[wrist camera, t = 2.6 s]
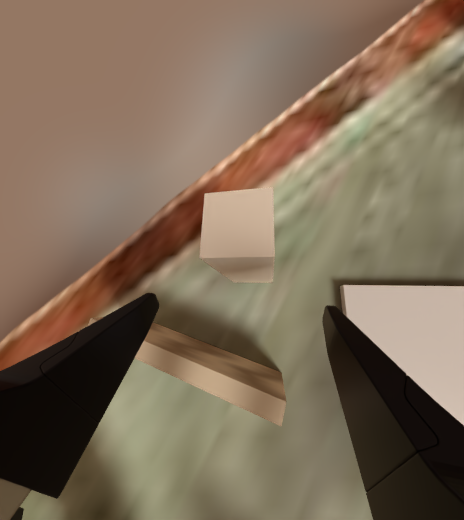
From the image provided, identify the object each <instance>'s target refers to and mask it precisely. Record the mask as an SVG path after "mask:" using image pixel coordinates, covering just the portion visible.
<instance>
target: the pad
mask: <svg viewBox="0 0 464 520" xmlns="http://www.w3.org/2000/svg"><path fill="white" fill-rule="evenodd" d="M340 293H341V302H342V312H343V314H344V315H345V316H347V317H348V318H349V319H350V320H351V321H352V322H353V323H354V324H355V325H356V326H357V327H358V328H359V329H360V330H361V331H362V332H363V333H364V334H365V335H366V336H367V337H369V338H370V339H371V340H372V341H373V342H374V343H375V344H376V345H377V346H378V347H379V348H380V349H381V350H382V351H383V352H384V353H385V354H386V355H387V356H388V357H389V358H391V359H392V360H393V361H394V362H395V363H396V364H397V365H398V366H399V367H400V368H401V369H402V370H403V371H404V372H405V373H406V376H407V375H408V376H409V377H411V378H412V379H413V380H414V381H415V382H416V383H417V384H418V385H419V386H420V387H421V388H422V389H423V390H424V391H425V392H426V393H428V394H429V395H430V396H431V397H432V398H433V399H434V400H435V401H436V402H437V403H439V404H440V405H441V406H442V407H443V408H444V409H445V410H447V411H448V412H449V413H450V414H451V415H452V416H453V417H455V418H456V419H457V420H458V421H459V422H460V423H462V424H463V425H464V286H387V285H342V286H340Z"/></svg>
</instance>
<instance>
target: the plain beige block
mask: <svg viewBox="0 0 464 520" xmlns="http://www.w3.org/2000/svg"><path fill="white" fill-rule="evenodd" d="M199 258H200V259H201V260H203V261H204V262H206V263H207V264H209V265H210V266H211V267H213V268H214V269H216V270H217V271H218V272H220V273H221V274H223V275H224V276H226V277H227V278H228V279H230V280H231V281H233V282H247V283H273V271H274V258H275V251H274V207H273V187H269V188H258V189H247V190H237V191H226V192H215V193H205V195H204V207H203V219H202V231H201V244H200V256H199Z"/></svg>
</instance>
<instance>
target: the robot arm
mask: <svg viewBox="0 0 464 520" xmlns="http://www.w3.org/2000/svg"><path fill="white" fill-rule="evenodd" d="M158 309H159V303H158V300H157V297H156V295H155V294H154V293H146V294H145V295H143V296H141V297H139V298H137V299H136V300H134V301H132V302H130V303H128V304H127V305H125V306H123V307H121V308H119V309H118V310H116V311H114V312H112V313H111V314H109V315H107V316H105V317H103V318H102V319H100V320H98V321H96V322H94V323H93V324H91V325H89V326H87V327H85V328H84V329H82V330H80V331H79V332H76V333H75V334H73V335H71V336H69V337H67V338H66V339H64V340H62V341H60V342H58V343H56V344H54V345H52V346H50V347H48V348H47V349H45V350H43V351H41V352H39V353H37V354H35V355H33V356H31V357H29V358H27V359H25V360H23V361H21V362H19V363H17V364H15V365H13V366H11V367H9V368H6V369H4V370H2V371H0V520H22V515H23V511H24V509H23V508H21V507H20V505H21V504H22V503H23V501H24V500H25V498H26V497H27V496H28V494H29V493H30V491H31V490H34V491H37V492H39V493H42V494H45V495H48V496H51V497H54V498H56V499H57V498H58V497H59V496H60V494H61V492H62V491H63V489H64V487H65V485H66V483H67V482H68V480H69V478H70V476H71V474H72V472H73V471H74V469H75V467H76V465H77V463H78V461H79V459H80V458H81V456H82V454H83V452H84V450H85V448H86V447H87V445H88V443H89V441H90V439H91V437H92V435H93V434H94V432H95V430H96V428H97V426H98V424H99V422H100V421H101V419H102V417H103V415H104V413H105V411H106V409H107V408H108V406H109V404H110V402H111V400H112V398H113V397H114V395H115V393H116V391H117V389H118V387H119V386H120V384H121V382H122V380H123V378H124V376H125V374H126V373H127V371H128V369H129V367H130V365H131V363H132V362H133V360H134V358H135V356H136V354H137V352H138V351H139V349H140V347H141V345H142V343H143V341H144V340H145V338H146V336H147V334H148V332H149V330H150V327H151V325H152V323H153V320H154V318H155V316H156V313H157V311H158ZM323 328H324V334H325V341H326V347H327V353H328V357H329V361H330V365H331V368H332V372H333V376H334V379H335V383H336V386H337V390H338V394H339V397H340V401H341V404H342V408H343V412H344V415H345V419H346V422H347V426H348V430H349V433H350V437H351V441H352V444H353V448H354V451H355V455H356V459H357V462H358V466H359V469H360V473H361V477H362V480H363V484H364V487H365V491H366V492H367V493H366V495H367V499H368V502H369V506H370V509H371V513H372V517H373V520H464V425H463V424H462V423H460V422H459V421H458V420H457V419H456V418H455V417H453V416H452V415H451V414H450V413H449V412H448V411H447V410H445V409H444V408H443V407H442V406H441V405H440V404H439V403H437V402H436V401H435V400H434V399H433V398H432V397H431V396H430V395H429V394H428V393H426V392H425V391H424V390H423V389H422V388H421V387H420V386H419V385H418V384H417V383H416V382H415V381H414V380H413V379H412V378H411V377H409V376H408V375H407V376H406V373H405V372H404V371H403V370H402V369H401V368H400V367H399V366H398V365H397V364H396V363H395V362H394V361H393V360H392V359H391V358H389V357H388V356H387V355H386V354H385V353H384V352H383V351H382V350H381V349H380V348H379V347H378V346H377V345H376V344H375V343H374V342H373V341H372V340H371V339H370V338H369V337H367V336H366V335H365V334H364V333H363V332H362V331H361V330H360V329H359V328H358V327H357V326H356V325H355V324H354V323H353V322H352V321H351V320H350V319H349V318H348V317H347V316H345V315H344V314H343V313H342V312H341V311H340V310H339V309H338V308H337V307H336V306H328V305H327V306H326V307H325V310H324V314H323Z"/></svg>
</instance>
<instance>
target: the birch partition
mask: <svg viewBox="0 0 464 520" xmlns="http://www.w3.org/2000/svg"><path fill="white" fill-rule="evenodd" d="M102 318H103V317H101V318H91V319H90V321H89V324H88V326H89V325H91V324H93V323H94V322H96V321H98V320H100V319H102ZM135 358H136V359H138V360H140V361H142V362H144V363H146V364H149V365H151V366H153V367H155V368H157V369H159V370H161V371H164V372H166V373H168V374H170V375H172V376H174V377H176V378H179V379H181V380H183V381H185V382H187V383H189V384H191V385H194V386H196V387H198V388H200V389H202V390H204V391H206V392H209V393H211V394H213V395H215V396H217V397H219V398H222V399H224V400H226V401H228V402H230V403H232V404H234V405H237V406H239V407H241V408H243V409H245V410H247V411H249V412H252V413H254V414H256V415H258V416H260V417H262V418H264V419H267V420H269V421H271V422H273V423H275V424H277V425H279V426H281V425H282V420H283V415H284V411H285V406H286V396H285V391H284V385H283V379H282V373H281V372H279V371H276V370H273V369H271V368H268V367H266V366H263V365H261V364H258V363H256V362H253V361H250V360H248V359H245V358H243V357H240V356H238V355H235V354H233V353H230V352H227V351H225V350H222V349H220V348H217V347H215V346H212V345H210V344H207V343H204V342H202V341H199V340H197V339H194V338H192V337H189V336H187V335H184V334H181V333H179V332H176V331H174V330H171V329H169V328H166V327H164V326H161V325H158V324H156V323H152V325H151V327H150V330H149V332H148V334H147V336H146V338H145V340H144V341H143V343H142V345H141V347H140V349H139V351H138V352H137V354H136V356H135Z"/></svg>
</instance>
